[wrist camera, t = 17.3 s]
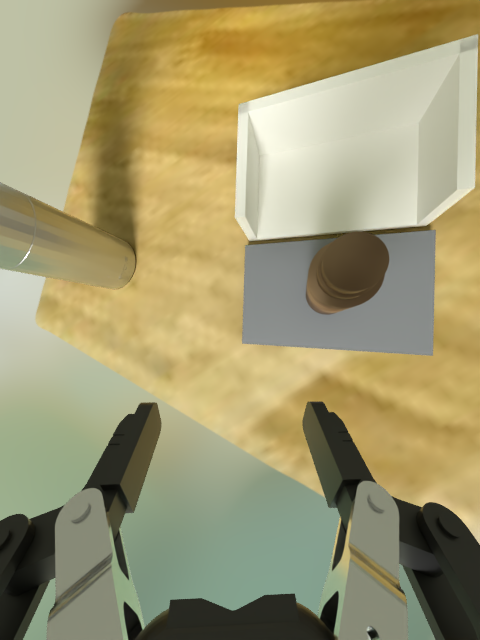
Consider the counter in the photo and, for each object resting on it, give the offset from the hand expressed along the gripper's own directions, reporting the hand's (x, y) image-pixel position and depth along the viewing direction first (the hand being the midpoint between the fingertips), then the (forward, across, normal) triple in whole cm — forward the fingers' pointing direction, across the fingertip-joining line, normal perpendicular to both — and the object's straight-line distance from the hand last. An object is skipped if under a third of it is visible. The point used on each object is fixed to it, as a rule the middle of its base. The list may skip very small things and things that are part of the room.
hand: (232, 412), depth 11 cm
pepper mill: (+16, -12, -1) cm, 20 cm away
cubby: (+24, -13, -13) cm, 30 cm away
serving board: (+18, -12, 0) cm, 22 cm away
